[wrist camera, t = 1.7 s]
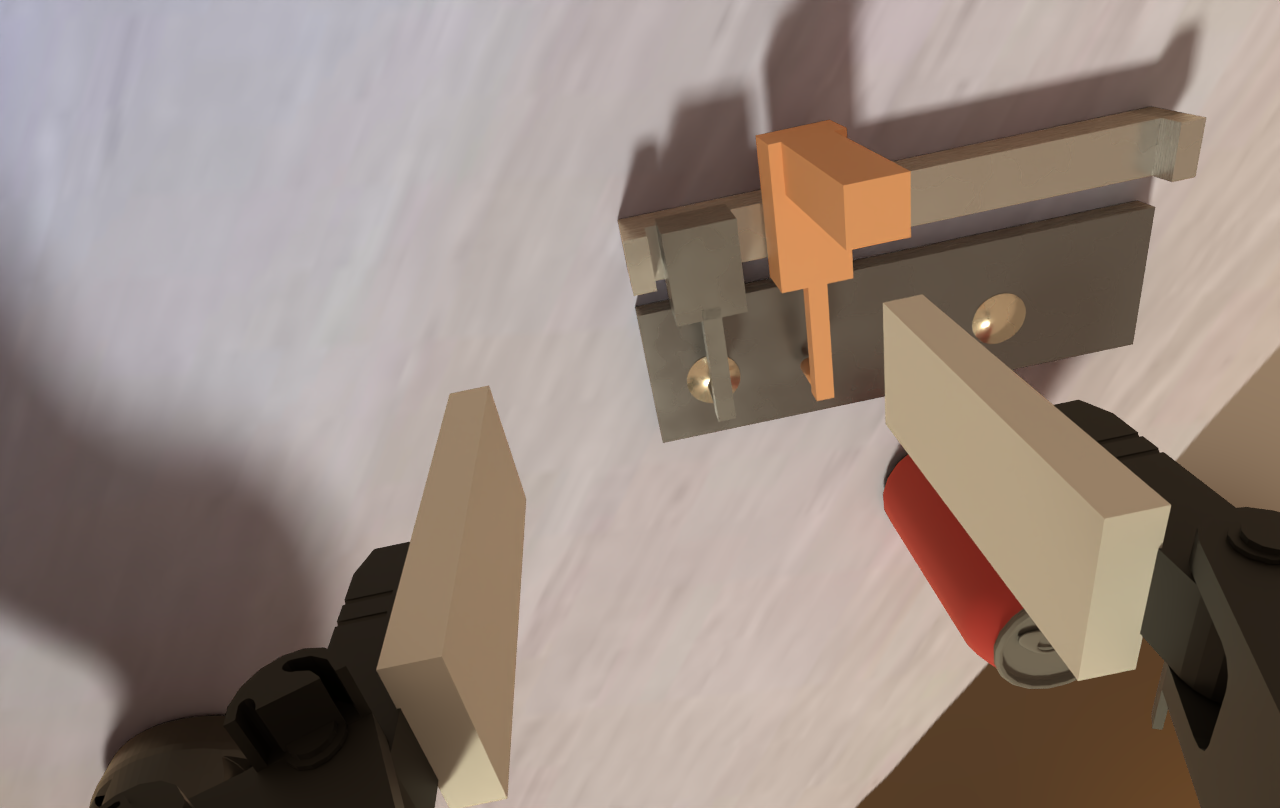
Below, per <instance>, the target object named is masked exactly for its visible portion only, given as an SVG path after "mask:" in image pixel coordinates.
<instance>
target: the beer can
mask: <svg viewBox="0 0 1280 808" xmlns="http://www.w3.org/2000/svg"><path fill="white" fill-rule="evenodd" d="M883 500H884V510H885V512H886V514H887V515H888V517H889V519H890V521H891V523H892V524H893V526H894V527H895V529H896V531H897V532H898V534H899V535H900V537H901V539H902V540H903V542H904V543H905V545H906V547H907V548H908V550H909V551H910V553H911V555H912V556H913V558H914V560H915V561H916V563H917V564H918V566H919V568H920V569H921V571H922V572H923V574H924V576H925V577H926V579H927V580H928V582H929V584H930V585H931V587H932V588H933V590H934V592H935V593H936V595H937V597H938V598H939V600H940V601H941V603H942V605H943V606H944V608H945V609H946V611H947V613H948V614H949V616H950V617H951V619H952V621H953V622H954V624H955V625H956V627H957V629H958V630H959V632H960V633H961V635H962V637H963V638H964V640H965V642H966V643H967V645H968V646H969V647H970V648H971V649H972V650H973V651H974V652H975V653H976V654H977V655H979V656H980V657H982V658H983V659H984V660H986V661H987V662H989V663H990V664H991V665H993V666H994V667H996V668H997V670H998V672H999V674H1000V675H1001V677H1003V678H1004V679H1005V680H1007V681H1008V682H1010V683H1011V684H1013V685H1016V686H1020V687H1025V688H1029V689H1040V688H1052V687H1056V686H1060V685H1064V684H1068V683H1070V682H1072V681H1075V680H1077V679H1076V677H1075V676H1074V675H1073V673H1072V672H1071V671H1070V669H1069V668H1068V667H1067V665H1066V664H1065V663H1064V661H1063V660H1062V659H1061V657H1060V656H1059V655H1058V653H1057V652H1056V651H1055V649H1054V648H1053V647H1052V645H1051V644H1050V643H1049V641H1048V640H1047V639H1046V637H1045V636H1044V635H1043V633H1042V632H1041V631H1040V629H1039V628H1038V627H1037V625H1036V624H1035V623H1034V621H1033V620H1032V619H1031V617H1030V616H1029V615H1028V613H1027V612H1026V611H1025V609H1024V608H1023V607H1022V605H1021V604H1020V603H1019V601H1018V600H1017V599H1016V597H1015V596H1014V595H1013V593H1012V592H1011V591H1010V589H1009V588H1008V587H1007V585H1006V584H1005V583H1004V581H1003V580H1002V579H1001V577H1000V576H999V575H998V573H997V572H996V571H995V569H994V568H993V567H992V565H991V564H990V563H989V561H988V560H987V559H986V557H985V556H984V555H983V553H982V552H981V551H980V549H979V548H978V546H977V545H976V544H975V542H974V541H973V540H972V538H971V537H970V536H969V534H968V533H967V532H966V530H965V529H964V528H963V526H962V525H961V524H960V522H959V521H958V520H957V518H956V517H955V516H954V514H953V513H952V512H951V510H950V509H949V508H948V506H947V505H946V504H945V502H944V501H943V500H942V498H941V497H940V496H939V494H938V493H937V492H936V490H935V489H934V488H933V486H932V485H931V484H930V482H929V481H928V480H927V478H926V477H925V476H924V474H923V473H922V472H921V470H920V469H919V468H918V466H917V465H916V464H915V462H914V461H913V460H912V458H911V457H910V456H909V454H908V455H906V456H905V457H904V458H903V459H902V460H901V461H900V462H898V464H897V465H896V466H895V468H894V469H893V471H892V472H891V474H890V475H889V477H888V479H887V482H886V486H885V489H884V492H883Z"/></svg>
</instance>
